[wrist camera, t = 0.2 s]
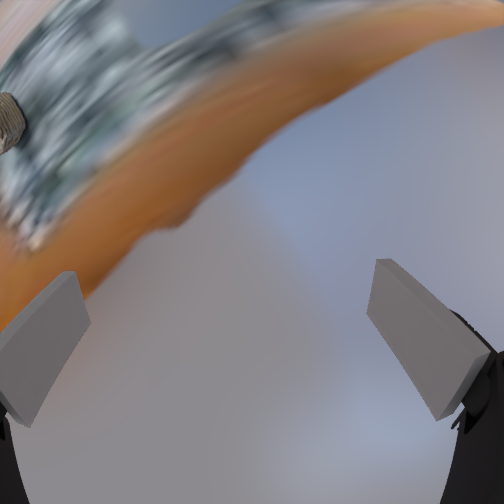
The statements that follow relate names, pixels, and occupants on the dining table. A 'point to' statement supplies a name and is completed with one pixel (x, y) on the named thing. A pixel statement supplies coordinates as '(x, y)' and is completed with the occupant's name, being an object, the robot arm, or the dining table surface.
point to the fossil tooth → (9, 123)
